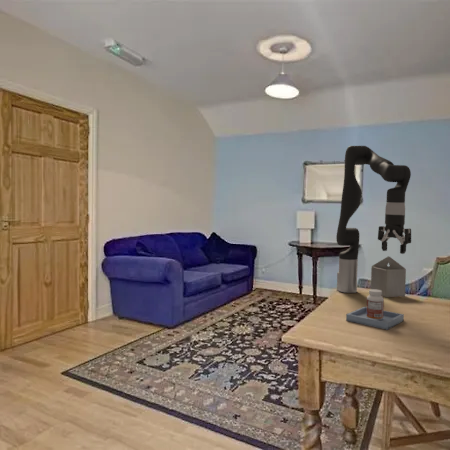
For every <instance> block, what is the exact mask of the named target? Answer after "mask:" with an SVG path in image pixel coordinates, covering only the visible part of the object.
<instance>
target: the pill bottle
mask: <svg viewBox="0 0 450 450" xmlns="http://www.w3.org/2000/svg"><path fill="white" fill-rule="evenodd" d="M381 295H382V291H381V290H377V289H371V288H370V289H369V290H368V295H367V296H366V307H367V318H370V319H375V320H382V319H383V310H384V309H385V308H384V307H385V305H384V304H385V302H384V300H385V299H384V298H385V297H383V296H381Z"/></svg>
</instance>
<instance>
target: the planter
mask: <svg viewBox="0 0 450 450" xmlns="http://www.w3.org/2000/svg"><path fill="white" fill-rule="evenodd" d="M388 265H389V266H388ZM370 269H371V272H370V289H377V290H381V291H382V295H381V296H382V297H383V298H398V296H402V297H406V284H407V283H406V282H407V281H406V280H407V279H406V278H407V277H406V276H407V270H406V268H405V267H404V266H403V265H401V264H400V263H399V262H397V261H396V260H394V258H392V257H391V256H387V257H384V258H383V259H381V260H379V261H378V262H376V263H375V264H373V265H371V268H370Z"/></svg>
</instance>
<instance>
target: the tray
mask: <svg viewBox="0 0 450 450" xmlns="http://www.w3.org/2000/svg"><path fill="white" fill-rule="evenodd" d="M404 315H405V314H403V313H400V312H395V311H394V312H393V311H389V310H384V309H383V319H382V320H375V319H370V318H367V306H363V307H360V308H358V309H355V310H353V311H351V312H348V313H346V317H345V318H346V319H345V321H346V322H347V321H348V322H351V323H356V324H359V325H364V326H370V327H374V328H377V329H382V330H387V331H388V330H390V329H392V328H393V327H395V326H397V325H400V324H401V323H402V322H403V321H404V320H405V319H404Z"/></svg>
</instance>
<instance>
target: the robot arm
mask: <svg viewBox="0 0 450 450" xmlns="http://www.w3.org/2000/svg"><path fill="white" fill-rule="evenodd" d="M363 165H369V167H370V169H371V170H372V172H373V173H375V174H377V175H379V176H380V177H381V178H382V179H383V180H384V181H385V182H387V183H396V185H395V186H394V187H391V188H388V189H387V190H386V201H385V202H386V203H385V204H386V205H385V209H384V210H385V211H384V213H385V214H384V225H385V226H384V225H382V226H378V230H377V231H378V232H377V241H380V242H381V250H382V252H387V251H388V241H389V240H390V238H393V239H397V241H399V243H400V246H399V253H400V254H402V255H404V254H405V253H406V252H407V244H411V243H412V229H411V228H405V227H404V226H405V223H406V221H405V220H406V219H405V218H406V205H405V204H406V191H407V189H408V186H409V182H410V180H411V177H412V173H411V169H410V167H409V166H408V165H402V164H395V163H394V162H392V161H391V160H388V159H387V158H385V157H383V156H380V155H379V154H377V153H376V152H375V151H374V150H372V148H371V147H369V146H366V145H349V146H348V147H347V148H346V149H345V153H344V177H343V186H342V193H341V203H340V213H339V219H338V224H337V225H338V226H337V230H336V238H335V239H336V243H337V245H338V246H341V247H342V246H347V247H348V246H349V247H348V248H347V249H346V250H344V251H341V252H339V254H338V255H339V256H338V271H337V275H336V277H337V278H336V290H337V291H338V292H341V293H345V294H347V293H348V294H354V293H358V266H359V265H358V263H359V262H358V260H359V259H358V258H359V250H360V249H359V247H360V231H359V229H358V228H356V227H347V226H348V223H349V221H350V219H351V218H352V216H353V215H354V214H355V213H356V212H357V210H358V209H359V207H360V206H361V201H362V194H363V193H362V188H361V185H360V184H359V182H358V180H357V178H356V175H355V167H356V166H363Z"/></svg>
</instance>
